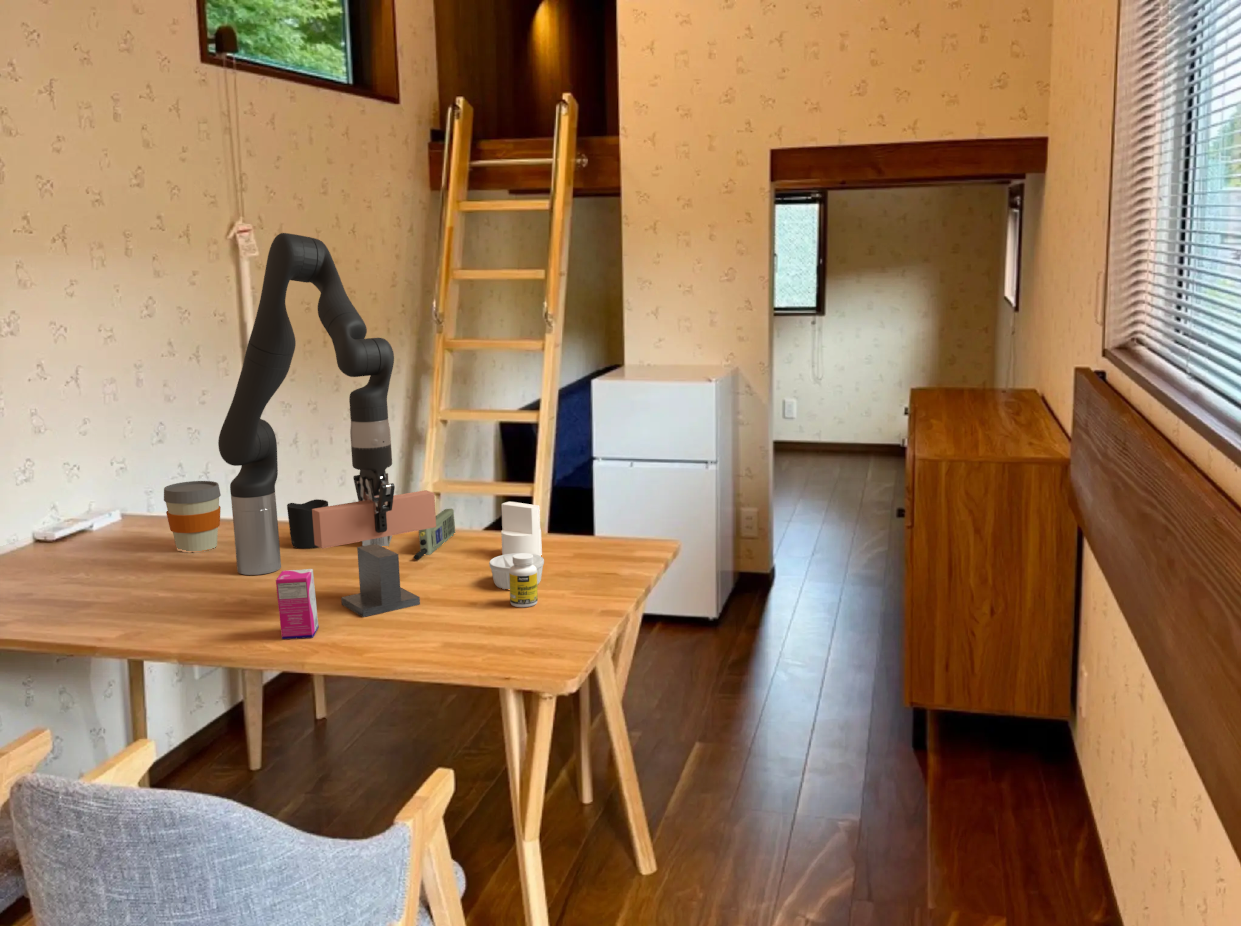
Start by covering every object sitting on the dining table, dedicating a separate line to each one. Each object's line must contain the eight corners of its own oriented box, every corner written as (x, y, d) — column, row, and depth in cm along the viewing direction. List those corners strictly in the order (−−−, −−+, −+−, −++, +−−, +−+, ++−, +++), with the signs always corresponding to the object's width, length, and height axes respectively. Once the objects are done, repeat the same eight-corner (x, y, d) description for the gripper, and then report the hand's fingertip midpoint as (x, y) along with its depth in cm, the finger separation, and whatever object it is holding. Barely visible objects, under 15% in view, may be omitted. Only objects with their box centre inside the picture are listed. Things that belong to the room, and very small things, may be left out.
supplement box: (286, 629, 204) (282, 569, 202) (319, 627, 205) (314, 568, 203) (280, 639, 199) (275, 578, 196) (313, 638, 199) (308, 577, 197)
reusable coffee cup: (213, 554, 255) (207, 491, 252) (159, 555, 256) (153, 492, 253) (232, 540, 268) (227, 480, 265) (181, 541, 268) (175, 480, 265)
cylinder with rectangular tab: (549, 554, 251) (548, 503, 249) (526, 564, 244) (524, 511, 241) (518, 549, 256) (516, 498, 254) (494, 558, 248) (492, 506, 246)
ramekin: (479, 585, 229) (478, 560, 228) (519, 573, 237) (518, 549, 236) (515, 596, 222) (514, 570, 221) (555, 583, 230) (554, 558, 229)
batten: (314, 544, 209) (311, 509, 208) (427, 523, 223) (426, 490, 222) (322, 548, 206) (319, 512, 205) (436, 527, 221) (434, 492, 219)
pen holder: (300, 538, 268) (297, 498, 266) (337, 539, 267) (334, 499, 265) (283, 549, 259) (280, 508, 257) (321, 550, 258) (318, 508, 256)
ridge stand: (341, 604, 218) (338, 550, 216) (397, 592, 225) (394, 540, 223) (363, 617, 210) (359, 561, 208) (419, 604, 217) (417, 550, 215)
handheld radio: (457, 534, 271) (424, 563, 247) (445, 534, 271) (410, 563, 247) (455, 508, 270) (421, 534, 245) (442, 508, 270) (407, 534, 246)
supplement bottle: (516, 609, 213) (514, 561, 211) (506, 602, 218) (504, 554, 216) (542, 605, 215) (540, 557, 213) (531, 597, 220) (529, 550, 218)
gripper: (405, 445, 208) (410, 533, 211) (373, 436, 219) (378, 520, 222) (368, 450, 204) (374, 540, 207) (337, 440, 215) (343, 526, 218)
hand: (376, 529), depth 215 cm, fingers closed on batten, 3 cm apart
